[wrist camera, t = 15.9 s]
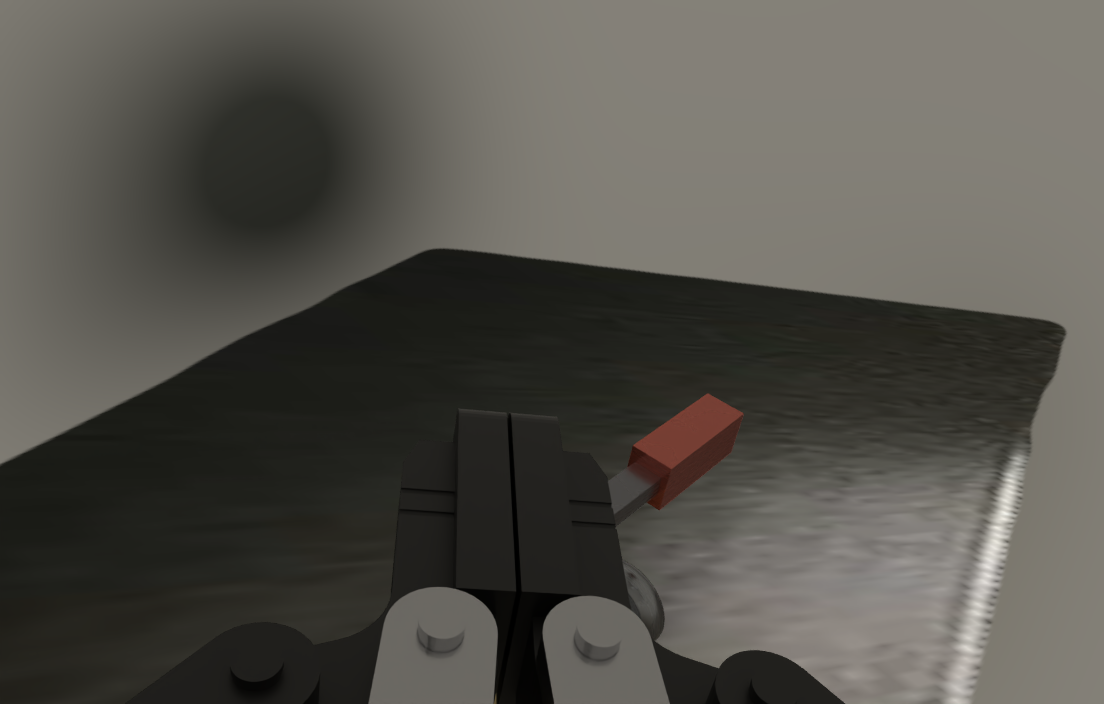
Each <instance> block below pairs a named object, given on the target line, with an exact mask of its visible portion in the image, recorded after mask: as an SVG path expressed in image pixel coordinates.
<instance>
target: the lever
mask: <svg viewBox="0 0 1104 704" xmlns="http://www.w3.org/2000/svg"><path fill="white" fill-rule="evenodd" d="M743 415H744V414H743V413H742V412H740V411H738V410H736V409H734V408H733V407H731V406H729V405H727V404H726V403H724V402H722V401H720V400H718V399H717V398H715V397H713V396H711V395H709V394H706V395H705V396H703V397H702V398H700V399H699V400H698V401H696V402H695V403H693V404H692V405H690V406H689V407H688V408H686V409H685V410H683V411H682V412H680V413H679V414H678V415H676V416H675V417H673V418H672V419H670V420H669V421H667V422H666V423H665V424H663V425H662V426H660V427H659V428H657V429H656V430H655V431H653V432H652V433H650V434H649V435H647V436H646V437H644V438H643V439H642V440H640V441H639V442H637V443H636V444H634V445H633V447H632V451H631V455H630V459H629V463H628V467H627V468H626V469H625V470H623V471H622V472H620V473H619V474H618V475H616V476H615V477H613V478H612V479H611V480H609V481H608V484H609V490H610V495H611V501H612V508H613V512H614V517H615V523H616V525H615V527H616V526H617V525H619V524H620V523H621V522H623V521H624V520H625V519H626V518H628V517H629V516H630V515H631V514H633V513H634V512H635V511H637V510H638V509H639V508H640V507H642V506H643V505H644V504H646V503H649V504H650V505H652V506H653V507H655V508H656V509H658V510H660V509H662V508H663V507H664V506H665V505H667V504H668V503H669V502H670V501H672V500H673V499H674V498H675V497H677V496H678V495H679V494H680V493H682V492H683V491H684V490H685V489H686V488H688V487H689V486H690V485H691V484H693V483H694V482H695V481H696V480H698V479H699V478H700V477H701V476H703V475H704V474H705V473H706V472H708V471H709V470H710V469H711V468H713V467H714V466H715V465H716V464H718V463H719V462H720V461H721V460H723V459H724V458H725V457H726V456H727V455H729V454H730V453H731V451H732V448H733V445H734V442H735V439H736V436H737V433H738V430H739V427H740V424H741V421H742V418H743Z"/></svg>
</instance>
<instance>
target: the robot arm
mask: <svg viewBox="0 0 1104 704" xmlns="http://www.w3.org/2000/svg"><path fill="white" fill-rule="evenodd" d="M615 525H616V523H615V517H614V512H613V508H612V501H611V495H610V490H609V484H608V478H607V476H606V475H605V473H604V472H603V471H602V469H601V468H600V467H599V465H598V464H597V463H596V461H595V460H594V459H593V457H592V456H591V455H590V453H579V452H567V451H563V450H562V442H561V434H560V426H559V420H558V418H557V417H551V416H539V415H528V414H516V413H509V415H508V418H507V414H506V413H503V412H491V411H480V410H468V409H458V410H457V415H456V422H455V429H454V437H453V442H442V441H430V440H419V442H418V443H417V444H416V446H415V447H414V448H413V450H412V451H411V452H410V454H409V455H408V456H407V458H406V459H405V460H404V462H403V472H402V482H401V492H400V502H399V512H398V521H397V531H396V542H395V553H394V564H393V575H392V587H391V598H390V601H389V603H388V606H387V607H386V609H385V611H384V612H383V614H382V615H381V616H380V617H379V618H378V619H377V620H376V621H375V622H374V623H373V624H371V625H370V626H369V627H367V628H366V629H364V630H362V631H361V632H359V633H356V634H354V635H352V636H349V637H346V638H342V639H339V640H334V641H330V642H325V643H321V644H317V645H313V644H312V642H311V641H310V640H309V639H308V638H307V637H306V636H305V635H303V634H302V633H300V632H299V631H297V630H295V629H293V628H291V627H288V626H286V625H281V624H277V623H268V622H261V623H251V624H245V625H241V626H238V627H235V628H232V629H230V630H228V631H226V632H224V633H222V634H220V635H219V636H217V637H216V638H214V639H213V640H211V641H210V642H209V643H207V644H206V645H205V646H203V647H202V648H201V649H199V650H198V651H196V652H195V653H194V654H192V655H191V656H190V657H188V658H187V659H185V660H184V661H183V662H181V663H180V664H179V665H177V666H176V667H175V668H173V669H172V670H170V671H169V672H168V673H166V674H165V675H164V676H162V677H161V678H159V679H158V680H157V681H155V682H154V683H153V684H151V685H150V686H149V687H147V688H146V689H144V690H143V691H142V692H140V693H139V694H138V695H136V696H135V697H133V698H132V699H131V700H129V701H128V702H127V703H125V704H494V701H495V696H496V704H845V703H844V702H843V701H841V700H840V699H839V698H838V697H837V696H835V695H834V694H833V693H832V692H831V691H829V690H828V689H827V688H826V687H825V686H823V685H822V684H821V683H820V682H819V681H817V680H816V679H815V678H814V677H813V676H811V675H810V674H809V673H808V672H807V671H805V670H804V669H803V668H801V667H800V666H799V665H797V664H796V663H794V662H792V661H791V660H789V659H787V658H785V657H783V656H780V655H778V654H774V653H771V652H766V651H760V650H749V651H743V652H739V653H736V654H734V655H732V656H730V657H729V658H727V659H726V660H725V661H724V662H723V663H722V664H721V666H720V668H716V667H713V666H710V665H707V664H704V663H701V662H698V661H695V660H692V659H689V658H686V657H683V656H680V655H678V654H675V653H673V652H671V651H669V650H667V649H665V648H664V647H662V646H661V645H659V644H658V643H656V642H655V641H654V640H653V639H652V638H651V637H650V634H649V632H648V629H647V628H646V626H645V625H644V623H643V622H642V621H641V619H640V618H639V617H638V616H637V615H636V614H635V613H633V612H632V609H631V606H630V601H629V595H628V590H627V584H626V579H625V573H624V568H623V562H622V556H621V551H620V545H619V540H618V534H617V529H615Z"/></svg>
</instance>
